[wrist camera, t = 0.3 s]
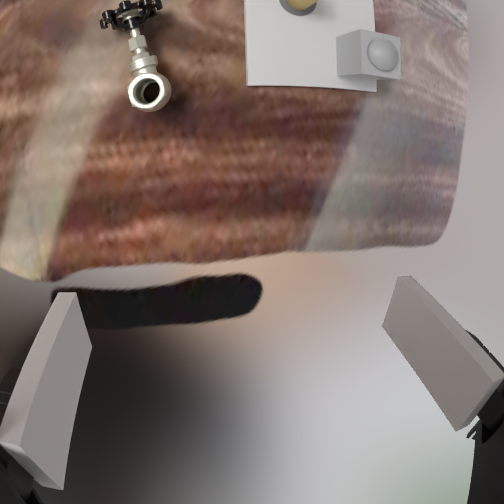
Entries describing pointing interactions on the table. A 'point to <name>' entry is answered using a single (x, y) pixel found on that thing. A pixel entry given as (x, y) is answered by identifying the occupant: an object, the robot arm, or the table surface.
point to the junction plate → (302, 41)
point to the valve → (139, 51)
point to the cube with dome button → (368, 55)
